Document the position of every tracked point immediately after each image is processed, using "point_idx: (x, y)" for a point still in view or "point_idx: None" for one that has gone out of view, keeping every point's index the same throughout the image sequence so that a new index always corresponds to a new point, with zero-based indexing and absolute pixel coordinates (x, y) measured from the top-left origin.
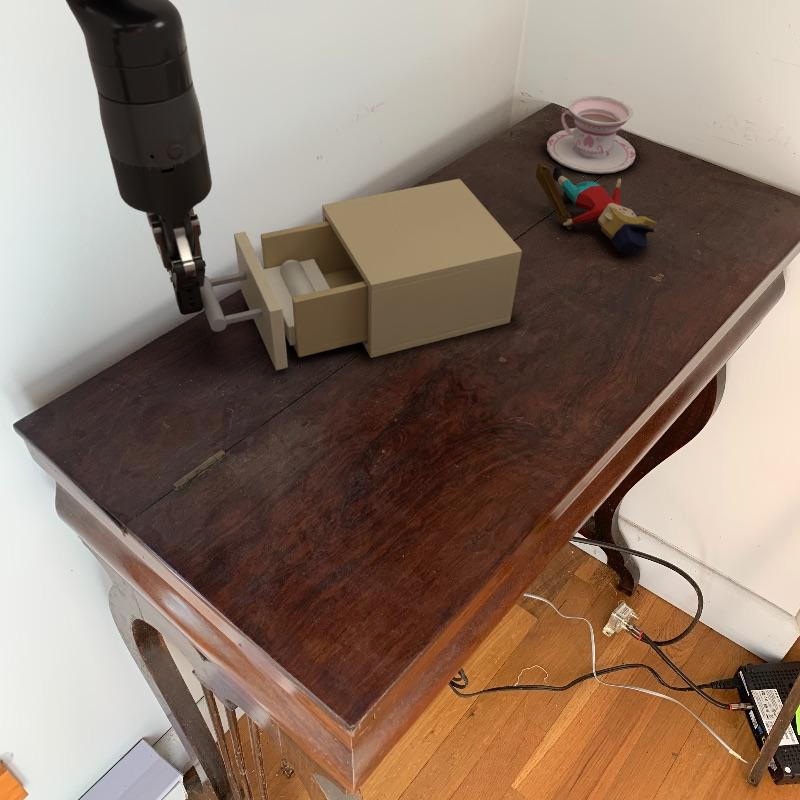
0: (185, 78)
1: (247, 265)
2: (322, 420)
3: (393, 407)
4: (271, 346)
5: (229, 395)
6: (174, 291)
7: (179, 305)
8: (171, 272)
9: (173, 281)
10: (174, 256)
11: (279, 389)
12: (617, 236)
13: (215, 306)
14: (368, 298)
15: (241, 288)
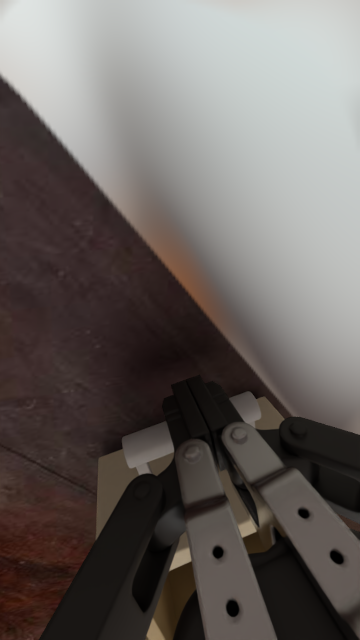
0: None
1: (246, 515)
2: (16, 503)
3: (43, 557)
4: (110, 484)
5: (63, 399)
6: (207, 396)
7: (176, 396)
8: (182, 499)
9: (158, 488)
10: (178, 623)
11: (75, 452)
12: None
13: (167, 453)
14: (146, 638)
15: (266, 401)
